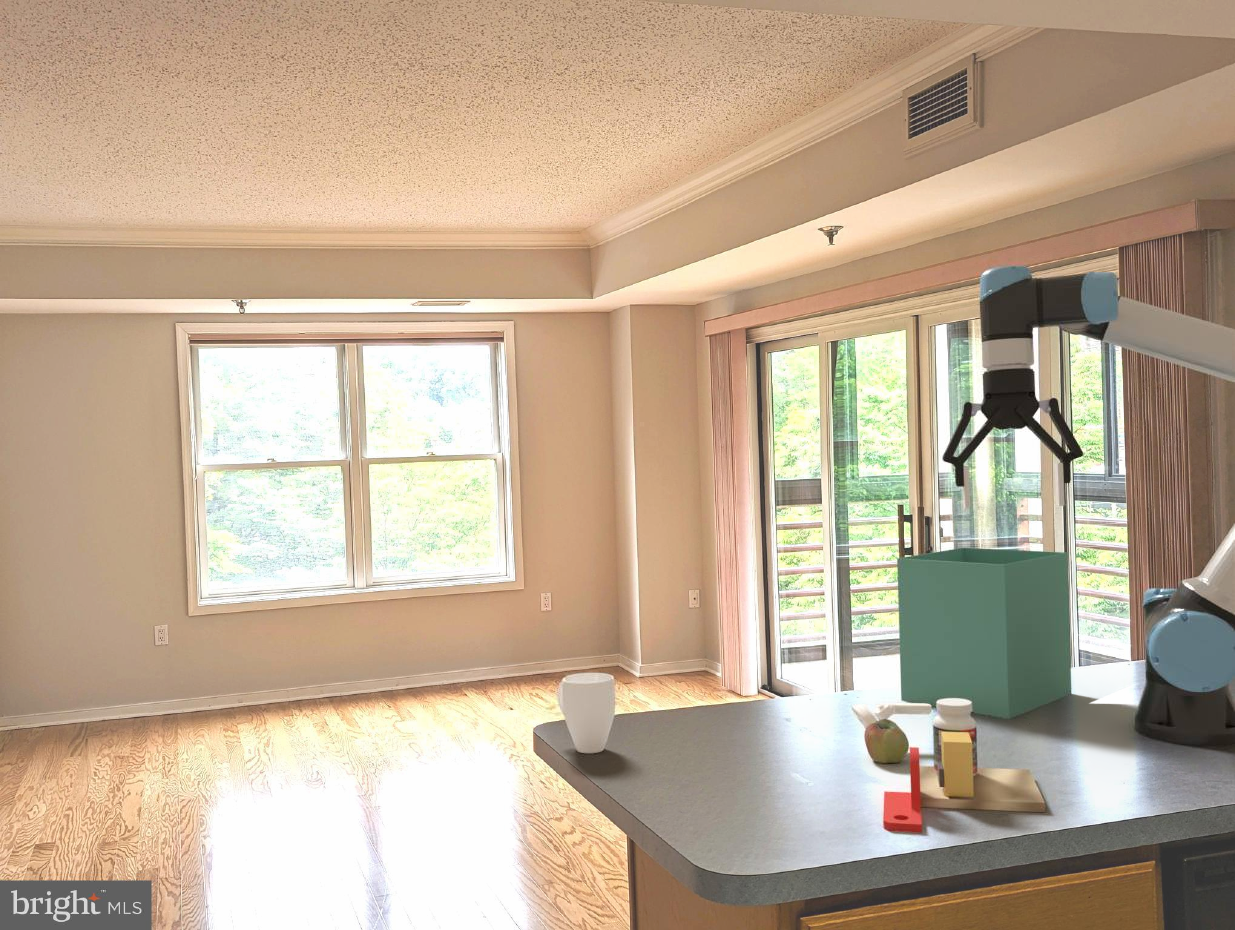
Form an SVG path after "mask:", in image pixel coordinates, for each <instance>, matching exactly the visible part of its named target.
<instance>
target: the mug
mask: <svg viewBox="0 0 1235 930" xmlns="http://www.w3.org/2000/svg"><path fill="white" fill-rule="evenodd" d="M615 683H616V682H615V678H614V675H612V674H609V673H605V672H579V673H574V674H568V675H565V677H563V678H562V680H561V682H560V683H559V684H558V688H557V702H558V705H559V706H558V707H559V708H560V711H561V713H562V715H563V716H564V721H565V723H566V726H567V730H568V731H569V733H570V735H571V739H572V741H573V744H574V746H575V750H576V751H577V752H578V753H582V754H595V753H596V754H597V753H601V752H603V751H604V749H605V748H606V747H605V746H606V745H607V741H608V738H609V735H610V733H611V729H612V725H613V722H614V719H615V714H616V713H615V712H616V688H615V687H616V684H615Z"/></svg>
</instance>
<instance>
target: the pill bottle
mask: <svg viewBox="0 0 1235 930" xmlns="http://www.w3.org/2000/svg"><path fill="white" fill-rule="evenodd" d="M936 703H937V706H936V711H937V712H938V714H937V715H935V717H934V718H933V722H932V731H933V733H932V735H933V740H932V741H933V766H934V770H935V772H936V773H937V774H938V762H942V750H941V732H969V735H970V738H971V741H972V757H973V777H974V776H976V774H977V770H978V768H979V767H978V744H977V743H978V740H977V734H978V733H977V722H976V720H975V718H973V717H972V716H971V712H972V711H973V710H972V702H971V701H969V700H966V699H960V698H946V699H940V700H938V701H937V702H936Z"/></svg>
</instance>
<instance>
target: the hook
mask: <svg viewBox="0 0 1235 930" xmlns="http://www.w3.org/2000/svg"><path fill="white" fill-rule="evenodd" d="M851 710H852V712H853V713H854V715H855V716H856V717H857V719H858V721H859V722H860V724H861V725H862V726H863V727H864V729H865V730H866V728H867V726H868V725H870V724H871V723H874V722H876V721H879V720H882V719H888V720H889V718H890V717H891V716H893V715H930V714H931V713H932V706H931V705H930V704H926V703H914V702H884V703H880V705H878V706H877V707H875V709H874V710H873V713H874V714H873V713H872V712H871V711H870V709H868V707H867V706H866V705H865V704H863V703H859V704H854V705H851Z"/></svg>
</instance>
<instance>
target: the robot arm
mask: <svg viewBox="0 0 1235 930" xmlns="http://www.w3.org/2000/svg"><path fill="white" fill-rule="evenodd" d="M1031 272H1032V271H1031V269H1030V267H1028V266H1026V265H1007V266H1006V265H1004V266H998V267H993V268H989V269H986V270H985V271H984V272H983V273H982V274H981V276H980V279H979V280H980V281H979V300H978V301H979V315H980V317H979V319H980V333H981V337H980V338H981V357H982V358H981V361H982V362H981V364H982V368H983V369H986V371H984V372H983V373H982V392H983V393H982V395H983V396H982V397H983V399H982V402H981V403H974V402H972V403H971V402H970V401H966V402H963V404H962V406H961V417H960V419H959V420H958V423H957V426H956V427H955V430H954V431H953V434H952V435H951V438H950V440H949V442H948V445H947V447H946V448H945V451H944V452H943V455H942V458H941V459H942V461H943V462H944V463H948V464H951V465H953V467H954V478H955V479H954V481H955V482H954V483H955V486H956V487H958V488H959V487H962V495H963V496H962V499H963V500H962V501H963V504H962V505H963V508H964V509H971V489H970V487H971V486H970V465H965V463H966V462H967V460H968V459H969V458H970V456H972V454H973V453H974V452H975V450H977V448H979V446H980V445H981V443H982V442H983V441H984V440H985V438H987V436H988V435H989V434H990V433H991V432H992V430H994V428H995V429H997V430H999V431H1001V430H1002V431H1003V430H1009V429H1013V430H1021V429H1024V428H1025V427H1027V429H1028V430H1030V431H1031V432H1032V433H1033V434H1034V435H1035V437H1036V438H1038V440H1039V441H1040V442H1042V444H1044V446H1045V447H1047V448H1048V450H1049V451H1050V452H1051V453H1052V454H1053V455H1054V456H1055V457H1056V458H1057V459H1058V460H1059V462H1054V464H1053V466H1054V483H1055V484H1054V485H1055V486H1054V492H1055V493H1054V494H1055V506H1058V507H1065V486H1064V485H1065V484H1070V483H1071V480H1072V477H1071V463H1072V461H1073V460H1076V459H1078V458H1081V457H1083V455H1084V452H1083V450H1082V448H1081V446H1080V445H1079V442H1078V441H1077V440H1076V438H1075V435H1074V434H1073V433H1072V430H1071V429H1070V427H1069V426H1068V424H1067V422H1066V421H1065V419H1064V417H1063V415H1062V413H1061V412H1060V405H1059V400H1058V398H1056V397H1051V398H1048V399H1044V400H1038V399H1037V397H1036V379H1035V377H1036V376H1035V370H1034V369H1033V368H1031V366H1033V365H1034V364H1035V352H1034V329H1036V328H1052V327H1054V328H1055V327H1058V328H1059V329H1060V330H1061V331H1063V332H1065V333H1067V334H1071V335H1076V336H1078V335H1079V336H1083V337H1087V338H1091V339H1093V340H1096V341H1101V342H1104V343H1106V344H1107V343H1108V344H1109V345H1110V344H1111V345H1113V346H1116V347H1121V348H1123V349H1125V350H1126V349H1127V350H1130V351H1132V352H1136V353H1140V354H1143V355H1145V356H1149V357H1153V358H1155V359H1159V360H1162V361H1165V362H1169V363H1172V364H1174V365H1177V366H1180V367H1184V368H1187V369H1190V370H1194V371H1197V372H1200V373H1204V374H1206V375H1209V376H1213V377H1216V378H1219V379H1223V380H1225V381H1229V382H1232V383H1235V329H1234V328H1230V327H1227V326H1224V325H1221V324H1217V323H1213V322H1211V321H1207V320H1203V319H1201V318H1197V317H1194V316H1190V315H1186V314H1184V313H1183V314H1182V313H1180V312H1176V311H1173V310H1170V309H1166V308H1163V307H1159V306H1155V305H1152V304H1148V303H1146V302H1141V301H1139V300H1135V299H1131V298H1129V297H1125V296H1121V295H1119V291H1118V290H1119V289H1118V288H1119V285H1118V277H1117V274H1115V273H1114V272H1112V271H1105V272H1104V271H1102V272H1101V271H1100V272H1099V271H1098V272H1094V271H1089V272H1088V273H1086V272H1085V273H1079V274H1070V275H1068V274H1067V275H1061V276H1050V277H1033V274H1032V273H1031ZM1039 409H1042V411H1043V412H1044V413H1045V414H1048V416H1049V418H1050V420H1051V422H1052V423H1053V426H1054V427H1055V429H1056V430H1057V432H1058V434H1059V435H1060V437H1061V439H1062V441H1063V442H1064V444H1065V446H1066V447H1067V449H1068V452H1067V451H1066V450H1065V449H1064V448H1063V447H1062V446H1061V445H1060V444H1059V443H1058V442H1057V441H1056V440H1055V439H1054V437H1052V436H1051V434H1050V433H1048V432H1047V431H1046V430H1045V428H1044V427H1042V426H1041V425H1042V424H1040V423H1039V421H1038V420H1036V418H1034V416H1035V415H1036V413H1037V411H1038V410H1039ZM978 411H980V412H981V413H982V415H983V416H984V417H985V418H986V421H985V422H984V423H983V424H982V426H981V427H980V429H979V430H978V431H977V432H976V433H975V435H974V436H973V437H972V438H971V439H970V441H969V442H968V443H967V444H966V445H965V447H964V448H963V449H962V451H961V452H960V453H959V454H958V455H957V456H955V453H956V451H957V448H958V447H959V445H960V443H961V440H962V438H963V437H964V434H965V432H966V430H967V428H968V425H969V423H970V422H971V418H972V417H975V416H976V415H977V413H978ZM1141 607H1142V610H1143V628H1144V630H1143V631H1144V635H1143V636H1144V662H1145V663H1144V666H1145V667H1144V669H1145V685H1144V688H1143V690H1142V693H1141V696H1140V699H1139V703H1138V706H1137V708H1136V711H1135V715H1134V730H1135V731H1136V732H1137V733H1138V734H1139V735H1140V736H1143V737H1144V738H1145V737H1146V738H1149V739H1152V740H1154V741H1155V740H1156V741H1160V742H1165V743H1169V744H1175V745H1184V746H1196V747H1197V746H1198V747H1221V746H1222V747H1223V746H1229V745H1230V746H1231V745H1234V744H1235V699H1234V696H1233V693H1232V691H1231V686H1230V685H1231V682H1232V681H1233V680H1234V679H1235V523H1233V526H1231V528H1230V530H1229V531H1228V532H1227V535H1225V537H1224V539H1223V540H1222V542H1221V543H1220V545H1219V546H1218V548H1217V549H1216V551H1215V553H1214V554H1213V555H1212V557H1211V558H1210V560H1209V561H1208V563H1207V564H1206V566H1205V567H1204V569H1203V571H1202V572H1201V573H1200V575H1198V576H1196V577H1191V578H1185V579H1182V580H1181V582H1180V584H1179V585H1178V587H1177V588H1158V587H1157V588H1154V587H1153V588H1152V587H1151V588H1148V589H1146V590H1145V591H1144V594H1143V602H1142V605H1141Z"/></svg>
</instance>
